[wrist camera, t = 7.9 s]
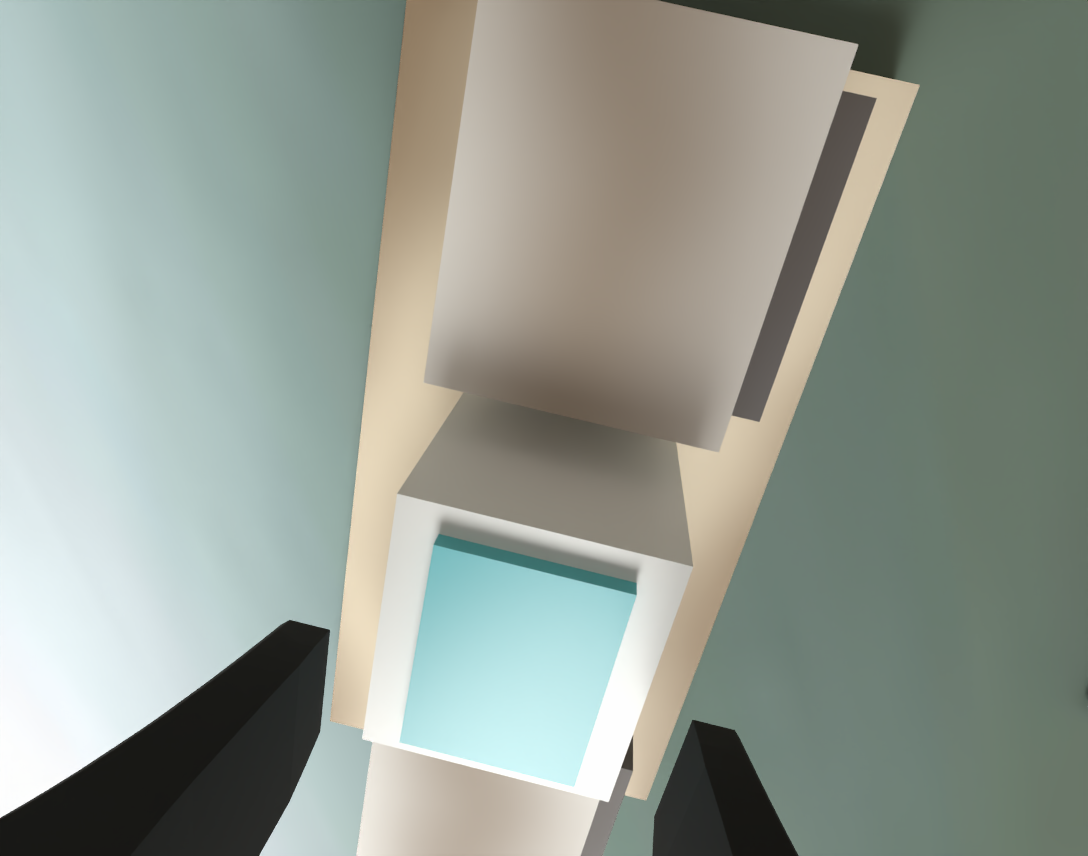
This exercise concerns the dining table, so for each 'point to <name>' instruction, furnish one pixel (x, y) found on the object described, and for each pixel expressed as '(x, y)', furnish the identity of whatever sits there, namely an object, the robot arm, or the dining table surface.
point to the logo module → (528, 595)
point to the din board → (600, 310)
